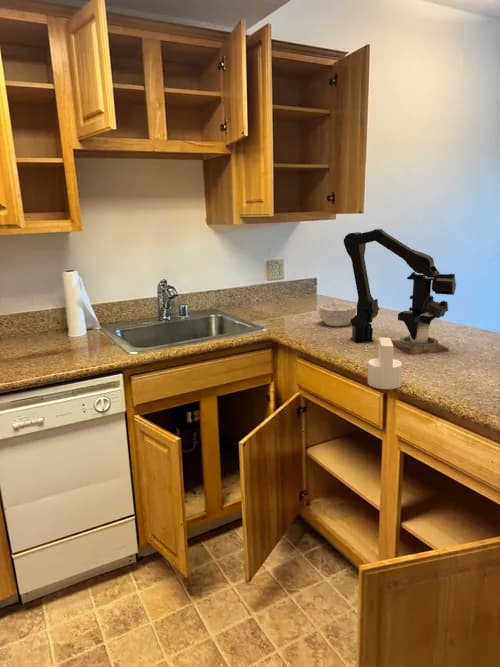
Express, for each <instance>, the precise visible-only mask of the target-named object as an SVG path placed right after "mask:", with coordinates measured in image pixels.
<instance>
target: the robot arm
mask: <svg viewBox="0 0 500 667" xmlns="http://www.w3.org/2000/svg"><path fill="white" fill-rule="evenodd" d="M372 242H377V243H378V244H380V245H381V246H382V247H384V248H385V249H387V250H389V251H391V252H392V253H393V254H395V255H396V256H398V257H400V258H401V259H402V260H404V262H405V263H406V264H407V265H408V267H410V269H411V270H413V272H411V274H410V275H408V276H407V277H406V279H407V280H409V281H411V280H412V295H410V296H409V300H411V306H409V308H408V310H403V311H400V312H398V314H397V321H401V322H403V323H404V324H405V327H406V328H407V330H408V333H409V336H410V335H411V337H412V339H414V340H415V339H416V336H417V330H418V325H419V324H420V323H425V324H428V325H429V326H430V325H431V323H432V321H434V320H435V319H440V318H443V317H444V316H445V314H446V312H448V311H449V303H448V302H447V301H446V300H442V301H440V302H439V301H435V298H434V295H431V293H432V292H434V293H435V295H447V296H450V295H451V296H452V295H453V296H454V295H455V292H456V289H457V288H456V287H457V283H456V274H455V273H440V272H439V269H437V267H436V266H435V261H434V260H435V259H434V258H433V257H432V256H431V255H428V254H426V253H424V252H421V251H420V250H419V251H418V250H415V249H412V248H411V247H409V246H408V245H406V244H404V243H403V242H401V241H399V240H398V239H396V238H395V237H394V236H391V235H390V233H389V234H388V232H385V230H383V229H382V228H375V229H372V230H370V231H365V232H359V231H356V232H350V233H347V234H346V235H345V236H344V237H343V245H344V247H345V251H346V253H347V254H348V256H349V258H350V261H351V264H352V270H353V271H352V272H353V275H354V281H355V287H356V293H357V303H356V316H355V317H354V318H353V319H351V320H350V321H351V322H350V324H351V336H350V337H349V340H352V341H353V342H355V343H357V344H359V343H372V342H374V340H373V330H374V328H373V327H372V326H373V325H372V323H373V321H374V319H376V318H377V316H379V315H378V314H379V311H380V307H379V301H378V298H375V299H374V298H373V296H372V294H371V289H370V283H369V277H368V271H367V266H366V260H365V259H366V258H365V254H366V253H365V252H366V244H369V243H372ZM431 291H432V292H431Z"/></svg>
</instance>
